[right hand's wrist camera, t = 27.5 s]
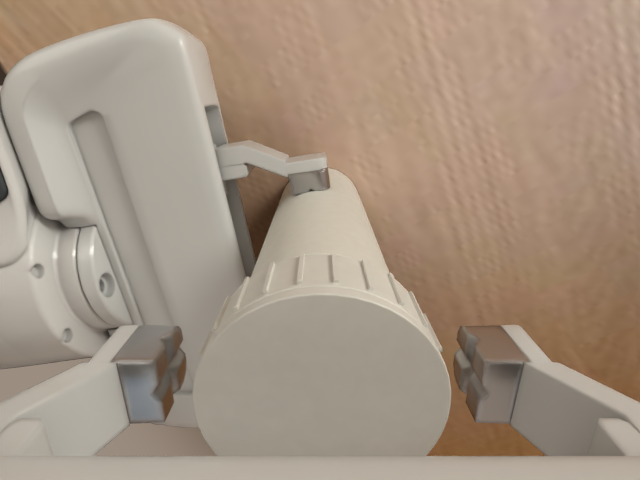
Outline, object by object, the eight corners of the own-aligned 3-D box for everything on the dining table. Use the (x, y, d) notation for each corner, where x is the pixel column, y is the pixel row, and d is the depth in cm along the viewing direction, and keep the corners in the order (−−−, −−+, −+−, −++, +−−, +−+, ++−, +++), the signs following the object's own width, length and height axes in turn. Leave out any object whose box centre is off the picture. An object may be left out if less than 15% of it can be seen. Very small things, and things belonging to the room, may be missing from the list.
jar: (316, 257, 25) (313, 473, 11) (264, 203, 24) (180, 365, 10) (376, 209, 24) (460, 380, 10) (324, 149, 23) (331, 241, 8)
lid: (422, 430, 11) (442, 497, 10) (226, 435, 11) (207, 503, 10) (437, 247, 9) (467, 287, 7) (198, 254, 9) (167, 295, 7)
